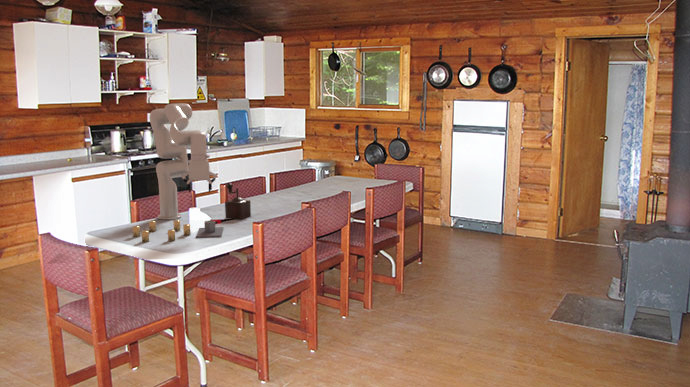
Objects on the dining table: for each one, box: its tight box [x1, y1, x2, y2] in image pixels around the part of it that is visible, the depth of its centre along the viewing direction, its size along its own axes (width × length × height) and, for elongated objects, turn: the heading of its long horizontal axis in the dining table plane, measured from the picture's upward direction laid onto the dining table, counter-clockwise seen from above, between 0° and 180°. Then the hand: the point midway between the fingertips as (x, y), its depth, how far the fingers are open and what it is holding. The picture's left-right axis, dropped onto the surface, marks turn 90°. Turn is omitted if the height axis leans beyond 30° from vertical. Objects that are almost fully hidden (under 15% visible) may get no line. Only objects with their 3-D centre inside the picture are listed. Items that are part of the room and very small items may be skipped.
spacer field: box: [132, 219, 191, 243], centre depth 302 cm, size 24×27×5 cm
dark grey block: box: [204, 220, 216, 233], centre depth 307 cm, size 6×5×5 cm
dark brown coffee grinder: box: [224, 183, 252, 221], centre depth 344 cm, size 16×11×18 cm
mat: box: [195, 226, 224, 239], centre depth 308 cm, size 18×12×1 cm, turn 8°
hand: (199, 191), depth 308 cm, fingers open, 9 cm apart
